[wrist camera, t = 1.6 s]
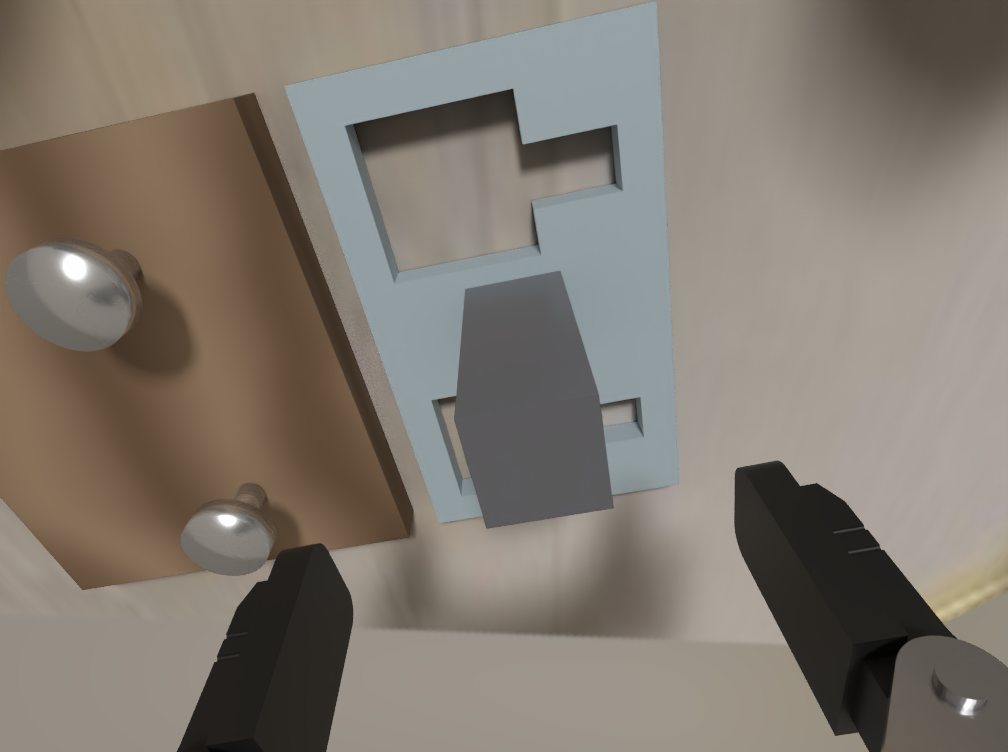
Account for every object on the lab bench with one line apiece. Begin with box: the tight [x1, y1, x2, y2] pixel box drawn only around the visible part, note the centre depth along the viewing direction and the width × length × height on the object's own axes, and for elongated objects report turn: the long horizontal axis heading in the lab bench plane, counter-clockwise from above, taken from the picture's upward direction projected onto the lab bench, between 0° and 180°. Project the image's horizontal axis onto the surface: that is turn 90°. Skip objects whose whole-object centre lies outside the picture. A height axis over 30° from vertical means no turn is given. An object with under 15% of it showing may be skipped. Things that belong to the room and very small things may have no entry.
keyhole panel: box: [284, 1, 679, 529], centre depth 16 cm, size 10×16×8 cm, turn 11°
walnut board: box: [0, 93, 413, 590], centre depth 19 cm, size 14×16×4 cm
